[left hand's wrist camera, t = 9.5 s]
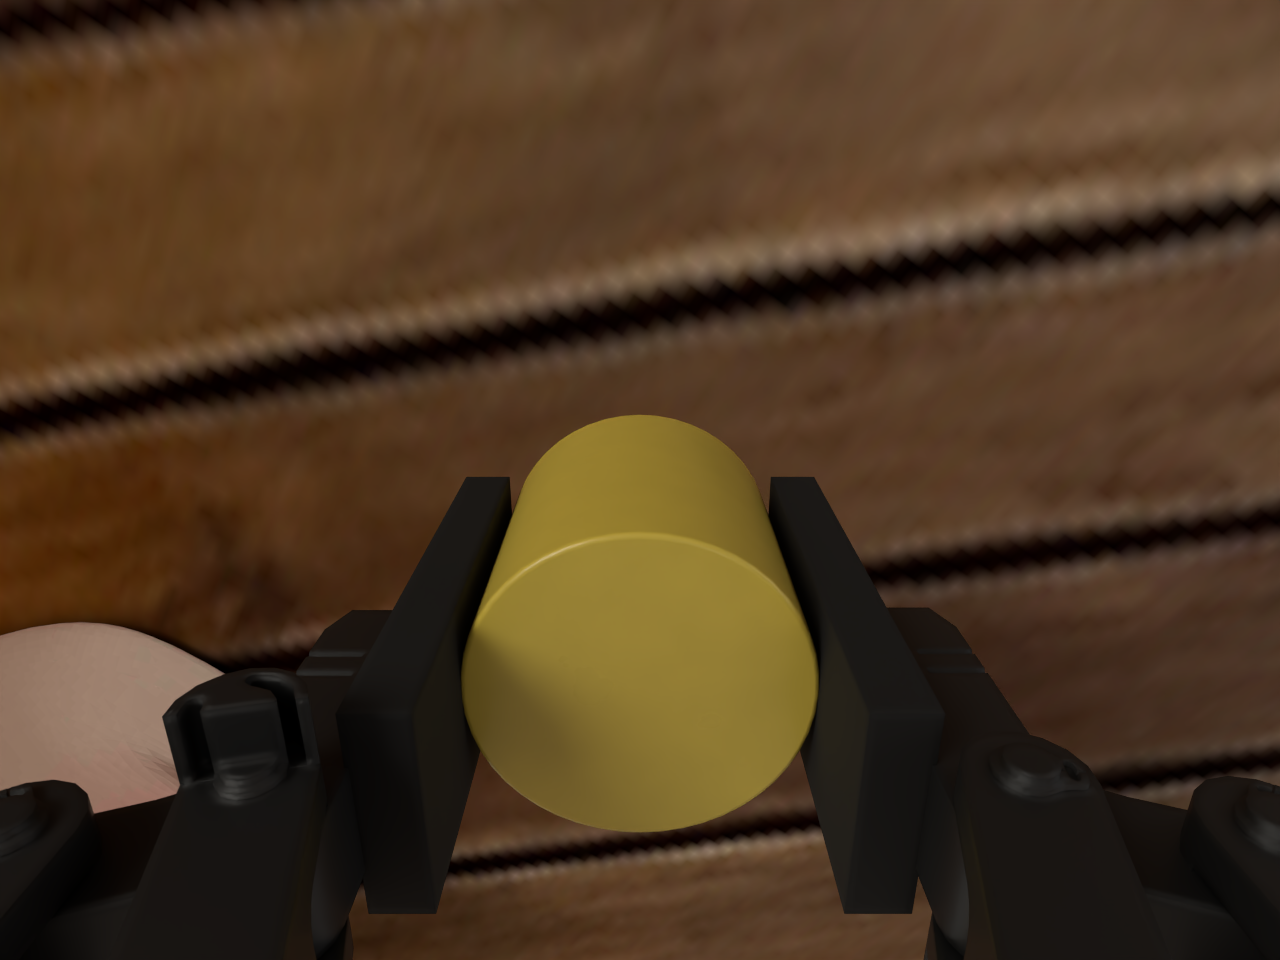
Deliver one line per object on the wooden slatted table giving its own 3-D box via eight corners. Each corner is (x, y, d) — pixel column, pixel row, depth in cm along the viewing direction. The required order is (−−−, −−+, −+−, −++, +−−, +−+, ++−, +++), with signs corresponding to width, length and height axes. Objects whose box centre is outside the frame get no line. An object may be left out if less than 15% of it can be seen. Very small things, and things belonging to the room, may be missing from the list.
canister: (523, 398, 14) (467, 512, 9) (788, 431, 14) (857, 557, 10) (505, 628, 15) (451, 817, 11) (742, 654, 16) (782, 850, 11)
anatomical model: (-297, 841, 21) (-28, 602, 18) (-156, 738, 24) (85, 527, 22) (115, 1104, 25) (386, 937, 22) (184, 981, 28) (422, 826, 26)
